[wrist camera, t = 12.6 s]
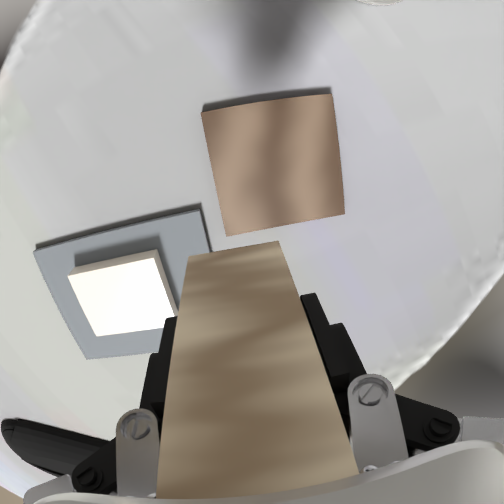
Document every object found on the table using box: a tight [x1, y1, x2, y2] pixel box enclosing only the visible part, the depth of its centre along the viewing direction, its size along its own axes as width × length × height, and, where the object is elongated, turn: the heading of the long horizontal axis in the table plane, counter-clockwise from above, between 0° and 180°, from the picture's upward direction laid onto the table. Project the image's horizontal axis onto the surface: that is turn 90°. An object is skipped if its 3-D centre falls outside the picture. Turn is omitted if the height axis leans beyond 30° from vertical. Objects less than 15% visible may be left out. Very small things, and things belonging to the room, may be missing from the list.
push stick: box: [156, 241, 359, 499], centre depth 10 cm, size 4×4×11 cm
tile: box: [68, 249, 178, 336], centre depth 31 cm, size 10×2×8 cm
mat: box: [33, 209, 210, 359], centre depth 33 cm, size 20×16×1 cm
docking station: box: [1, 419, 108, 477], centre depth 48 cm, size 25×41×5 cm, turn 80°
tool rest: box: [201, 94, 345, 237], centre depth 29 cm, size 12×12×1 cm
